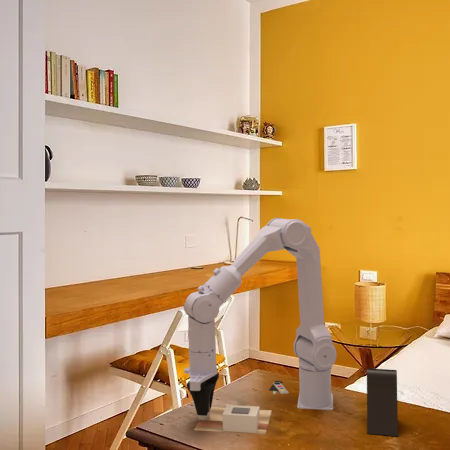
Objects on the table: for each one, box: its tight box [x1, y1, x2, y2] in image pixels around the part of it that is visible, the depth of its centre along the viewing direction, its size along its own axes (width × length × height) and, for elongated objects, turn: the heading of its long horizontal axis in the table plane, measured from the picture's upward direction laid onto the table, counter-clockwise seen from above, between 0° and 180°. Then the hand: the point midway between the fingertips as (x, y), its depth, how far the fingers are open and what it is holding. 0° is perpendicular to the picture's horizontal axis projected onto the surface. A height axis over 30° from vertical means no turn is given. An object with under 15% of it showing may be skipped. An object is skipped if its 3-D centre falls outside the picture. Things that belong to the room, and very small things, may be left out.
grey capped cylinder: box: [197, 401, 210, 421], centre depth 114 cm, size 3×3×6 cm
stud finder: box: [222, 404, 261, 434], centre depth 112 cm, size 5×7×4 cm
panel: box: [193, 406, 273, 435], centre depth 115 cm, size 12×15×1 cm
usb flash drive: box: [268, 380, 290, 395], centre depth 133 cm, size 9×5×1 cm, turn 162°
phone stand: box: [366, 367, 399, 437], centre depth 111 cm, size 9×6×12 cm, turn 164°
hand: (204, 411), depth 114 cm, fingers closed on grey capped cylinder, 3 cm apart
